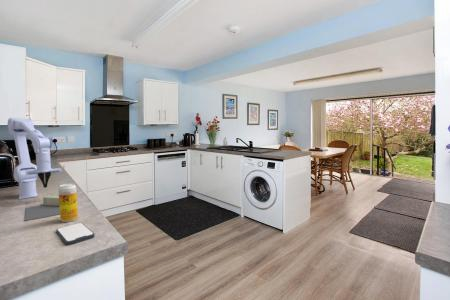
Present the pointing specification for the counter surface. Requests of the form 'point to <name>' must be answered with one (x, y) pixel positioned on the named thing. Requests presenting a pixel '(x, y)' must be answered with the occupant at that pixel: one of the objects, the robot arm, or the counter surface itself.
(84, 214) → the counter surface
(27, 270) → the counter surface
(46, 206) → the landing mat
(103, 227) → the counter surface
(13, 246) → the counter surface
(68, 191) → the beer can
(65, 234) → the phone case
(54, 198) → the skincare box
